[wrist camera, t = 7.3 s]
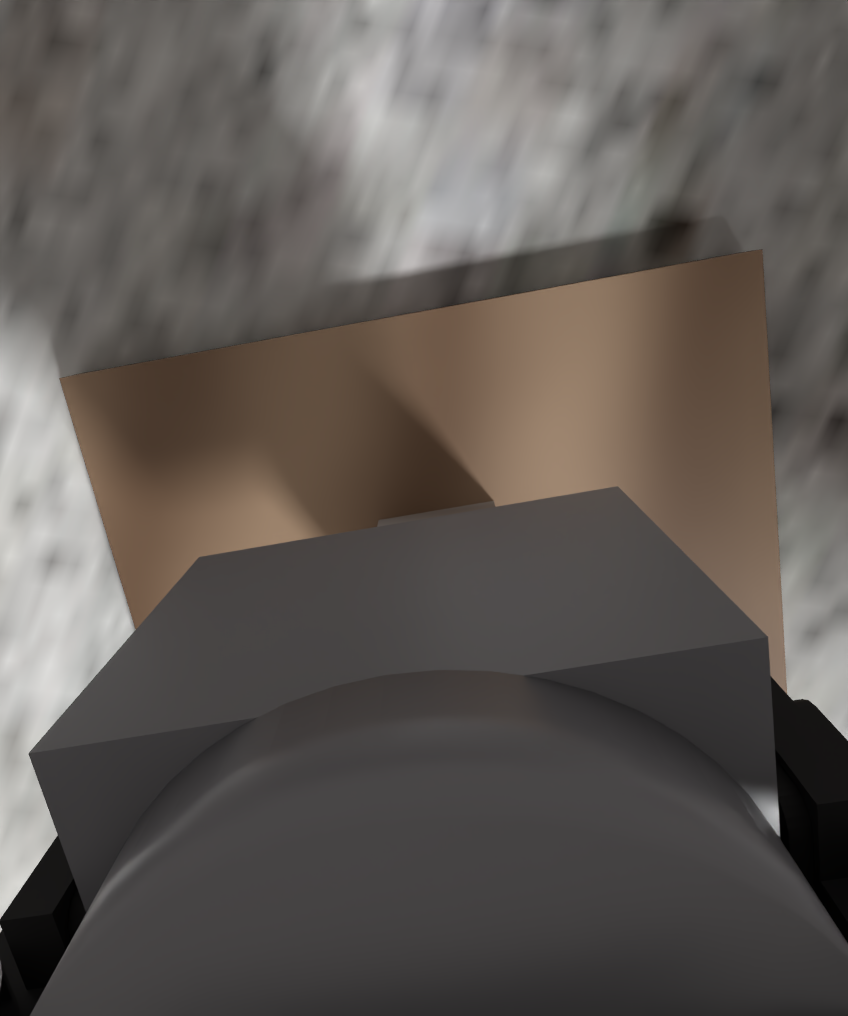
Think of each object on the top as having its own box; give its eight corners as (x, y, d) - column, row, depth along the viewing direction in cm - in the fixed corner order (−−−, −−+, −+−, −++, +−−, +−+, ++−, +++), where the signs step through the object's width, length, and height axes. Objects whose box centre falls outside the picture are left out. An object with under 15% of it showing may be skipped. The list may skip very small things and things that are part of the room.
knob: (630, 470, 11) (1018, 805, 4) (671, 852, 13) (988, 1576, 5) (182, 546, 11) (-246, 986, 4) (282, 908, 13) (106, 1660, 6)
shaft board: (744, 251, 18) (877, 234, 12) (772, 709, 21) (888, 853, 15) (78, 373, 18) (-65, 406, 13) (203, 793, 22) (128, 955, 16)
